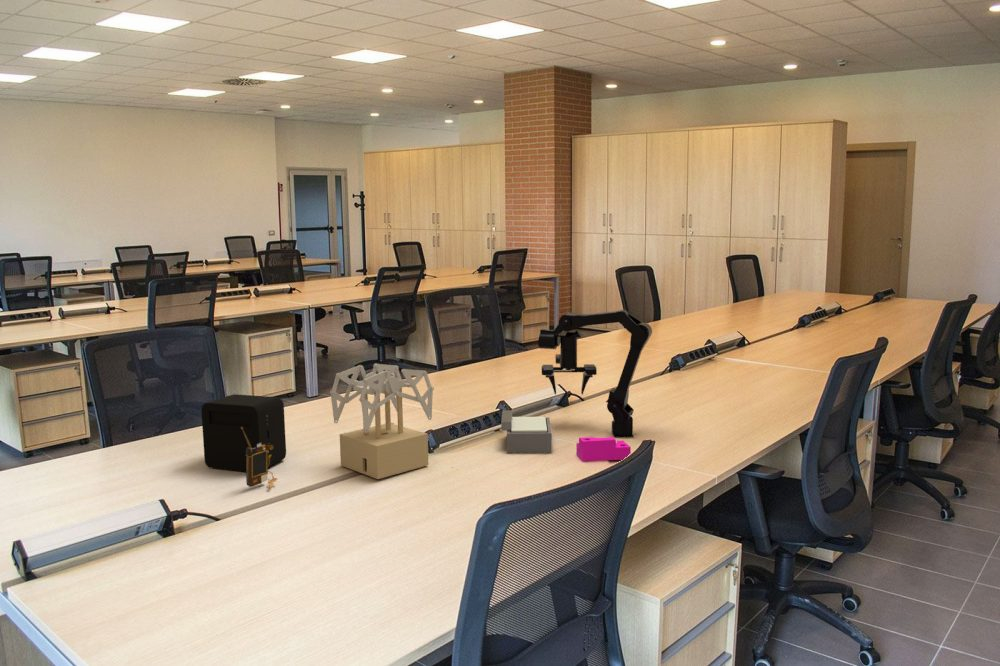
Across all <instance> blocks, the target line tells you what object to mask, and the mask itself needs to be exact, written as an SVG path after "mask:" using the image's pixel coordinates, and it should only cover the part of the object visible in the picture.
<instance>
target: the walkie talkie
mask: <svg viewBox="0 0 1000 666" xmlns="http://www.w3.org/2000/svg"><path fill="white" fill-rule="evenodd" d="M241 429H242V430H243V427H241ZM243 432H244V430H243ZM244 435H245V438H246V441H247V443H248V445H249V447H248V448H247V449H246V472H245V474H246V477H245V479H246V486H248V487H250V488H251V487H254V486H257V485H260V484H262V483H264V482H267V481H268V482H267V484H269V486H268V487H267V489H270V488H272V486H273V483H275V482H277V480H278V478H276V477H274V475H273V472H272V471H270V470H268V468H269V467H270V466H269V462H270V457H271V455H269V456H268V449H270V450H272V449H273V446H272V445H265V444H262V445H261V443H259V444H257V446H256V447H254V446H253V447H251V445H250V443H249V440H248V439H247V436H246V434H245V433H244ZM268 474H271V476H272V477H271V478H272V479H270V480H268Z"/></svg>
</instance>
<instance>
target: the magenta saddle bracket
mask: <svg viewBox="0 0 1000 666" xmlns="http://www.w3.org/2000/svg"><path fill="white" fill-rule="evenodd" d="M575 449H576V456H577V457H578V459H580V461H582V462H584V463H586V462H599V461H603V462H604V461H615V460H616V461H617V460H619V461H620V460H624V459H623V458H625V457H627V456H628V455H629V454H631V449H632V448H631V446H630V445H629V444H628V443H627V442H626V441H624V440H617V439H616V438H615V437H614V436H610V437H597V436H596V437H595V436H587V437H586V436H585V437H578V442H576V448H575Z"/></svg>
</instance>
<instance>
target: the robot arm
mask: <svg viewBox="0 0 1000 666" xmlns="http://www.w3.org/2000/svg"><path fill="white" fill-rule="evenodd" d="M615 323H619V324H620V325H621V326H623V328H625V330H626V331H627V332H628V333H630V334H631V335H630V343H629V345H630V346H629V351H628V353H627V357H626V360H625V362H624V366H623V368H622V371H621V374H620V377H619V380H618V383H617V386H616V388H614V387H613V388H612V389H611V390H610V391H609V393H608V398H607V400H606V401H605V403H607V404H606V409H607V410H608V412H609V413H610V414H611V415H612V419H613V420H612V421H611V434H612V435H613V438H634V430H633V429H634V426H633V425H634V419H633V413H634V408H633V407H632V406H631V405H630V404H629V395H630V393H629V391H630V386H631V383H632V380H633V378H634V375H635V371H636V369H637V365H638V363H639V361H640V357H641V353H642V351H643V349H644V348H645V346H646V345H647V343H648V342H649V339H650V338H651V337H652V335H653V328H652V327H651V325H650V324H649V323H647V322H642V321H641V320H639V319H638V318H637V317H635V316H634V315H632V314H630V313H629V311H627V310H626V309H619V310H614V311H605V312H597V313H589V314H588V313H577V312H567V313H566V314H563V315H561V316H560V318H559V319H558V324H557V326H556V327H555V328H554V329H545V328H541V329H540V330H539V335H538V339H537V344H538V348H539V349H541V350H542V349H543V350H556V349H557V348H558V347H560V350H559V351H560V353H559V354H557V353H556V354H555V364H556V365H558V364H559V366H554V365H553V364H542V365H541V375H542V376H545V378H548V379H549V381H550V383H551V386H552V389H553V393H554V396H555V395H557V388H556V380H555V373H582V381H581V389H580V391H581V395H584V392H585V389H586V387H587V384H588V382H589V380H590V378H593V376H596V375H597V374H598V373H597V367H596V365H595V364H594V363H593V364H592V363H591V364H590V363H589V364H587V363H586V364H583V366H578V338H582V337H583V336H584V334H583V333H582V332H581V331H580V330H579V329H580V328H583V327H586V326H587V327H589V326H595V325H604V324H605V325H606V324H607V325H608V324H615ZM576 329H577V330H576ZM572 330H573V331H572ZM574 330H575V331H574ZM564 332H566V333H564ZM561 333H562V334H561ZM563 333H564V334H563Z"/></svg>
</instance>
